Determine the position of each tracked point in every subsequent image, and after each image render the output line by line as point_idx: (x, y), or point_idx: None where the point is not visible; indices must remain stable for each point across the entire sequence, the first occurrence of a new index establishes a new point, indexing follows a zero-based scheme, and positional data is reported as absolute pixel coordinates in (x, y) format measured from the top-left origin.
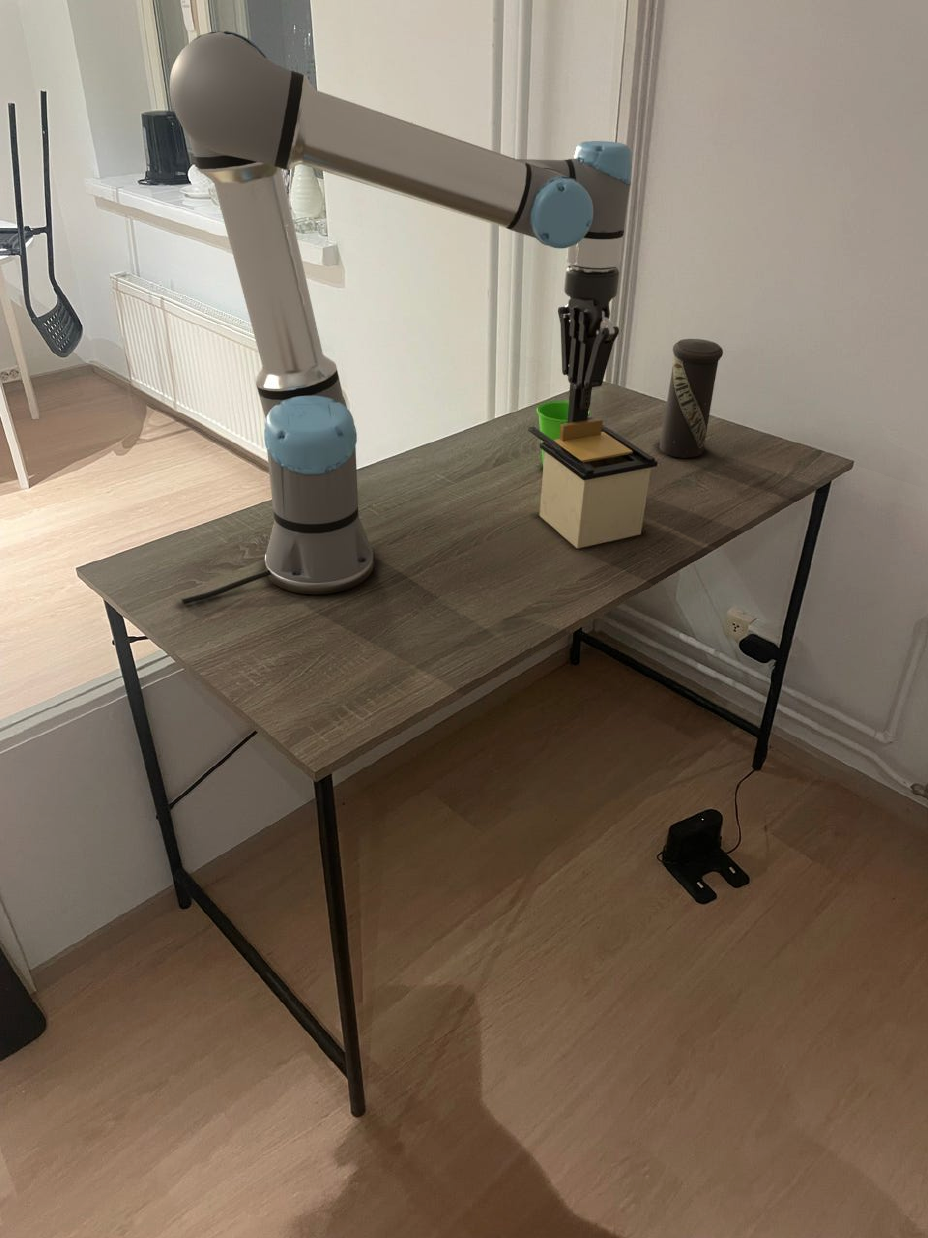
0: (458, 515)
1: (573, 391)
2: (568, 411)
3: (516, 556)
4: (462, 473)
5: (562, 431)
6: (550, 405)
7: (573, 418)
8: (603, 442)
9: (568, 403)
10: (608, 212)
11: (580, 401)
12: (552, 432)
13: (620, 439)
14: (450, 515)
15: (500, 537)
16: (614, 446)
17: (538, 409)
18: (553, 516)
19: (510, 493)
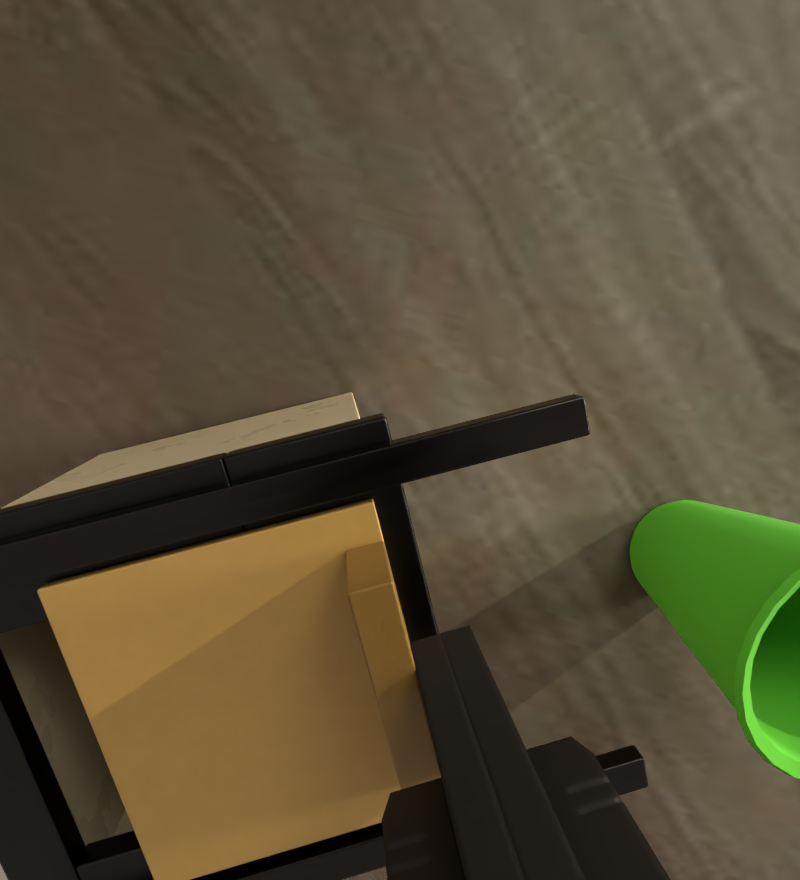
0: (403, 89)
1: (503, 858)
2: (491, 686)
3: (60, 226)
4: (730, 198)
5: (355, 572)
6: None
7: (421, 690)
8: (294, 770)
9: None
10: None
11: (424, 840)
12: (738, 567)
13: (313, 864)
14: (408, 56)
15: (210, 206)
16: (233, 813)
17: None
18: (256, 420)
19: (537, 336)
